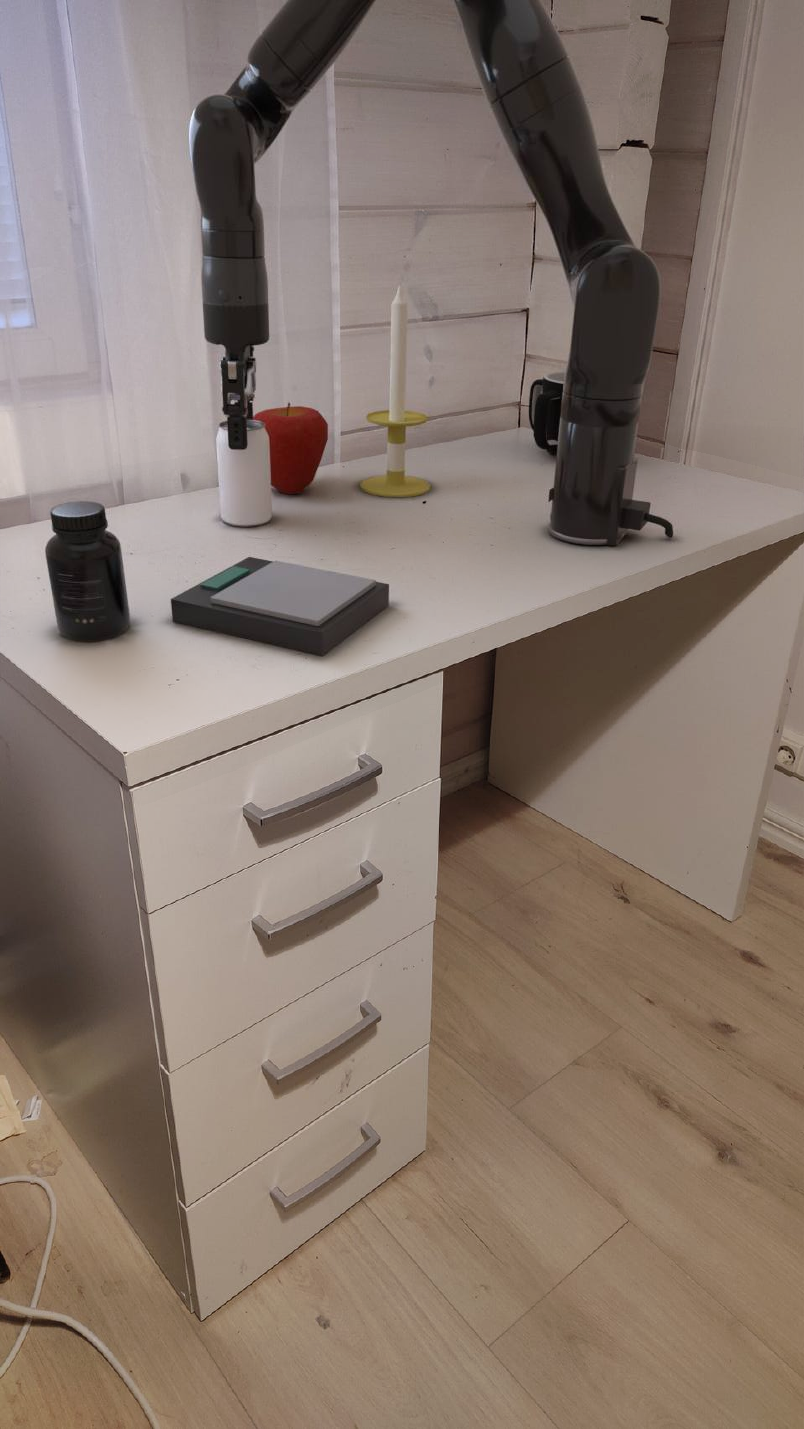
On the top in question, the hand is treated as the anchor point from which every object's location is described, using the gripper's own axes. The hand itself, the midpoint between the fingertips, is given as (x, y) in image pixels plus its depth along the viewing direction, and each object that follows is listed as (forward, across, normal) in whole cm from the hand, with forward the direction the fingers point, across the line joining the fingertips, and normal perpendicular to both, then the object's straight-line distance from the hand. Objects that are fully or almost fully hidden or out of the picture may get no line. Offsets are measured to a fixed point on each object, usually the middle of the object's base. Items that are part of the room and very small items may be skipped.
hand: (241, 440), depth 124 cm
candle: (+10, +16, -20) cm, 27 cm away
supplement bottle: (+10, -35, +11) cm, 38 cm away
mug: (+10, +36, -50) cm, 62 cm away
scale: (+10, -31, -7) cm, 33 cm away
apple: (+10, +13, -5) cm, 17 cm away
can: (+10, 0, 0) cm, 10 cm away
